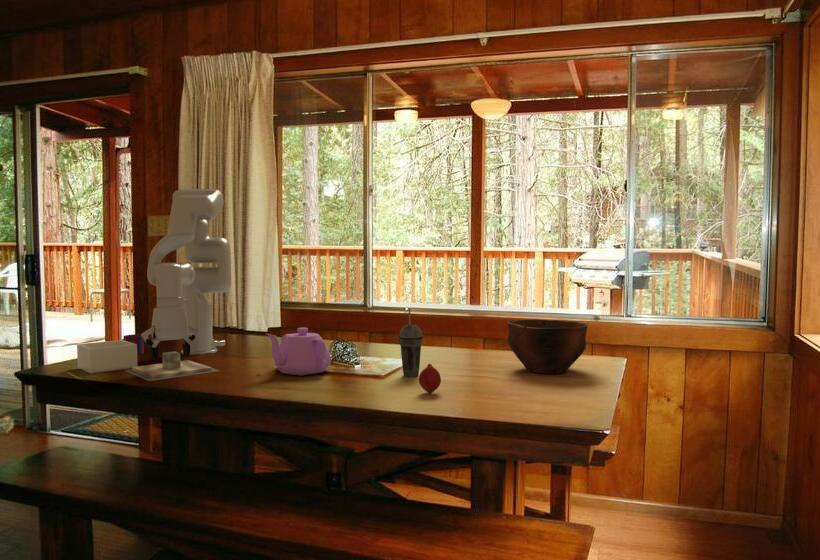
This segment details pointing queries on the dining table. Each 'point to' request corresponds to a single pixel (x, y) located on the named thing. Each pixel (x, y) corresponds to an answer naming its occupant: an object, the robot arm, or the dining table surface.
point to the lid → (171, 367)
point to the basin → (106, 356)
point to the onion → (429, 379)
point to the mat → (164, 377)
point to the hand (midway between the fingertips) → (171, 358)
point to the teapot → (300, 353)
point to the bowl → (547, 343)
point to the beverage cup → (410, 348)
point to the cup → (136, 342)
